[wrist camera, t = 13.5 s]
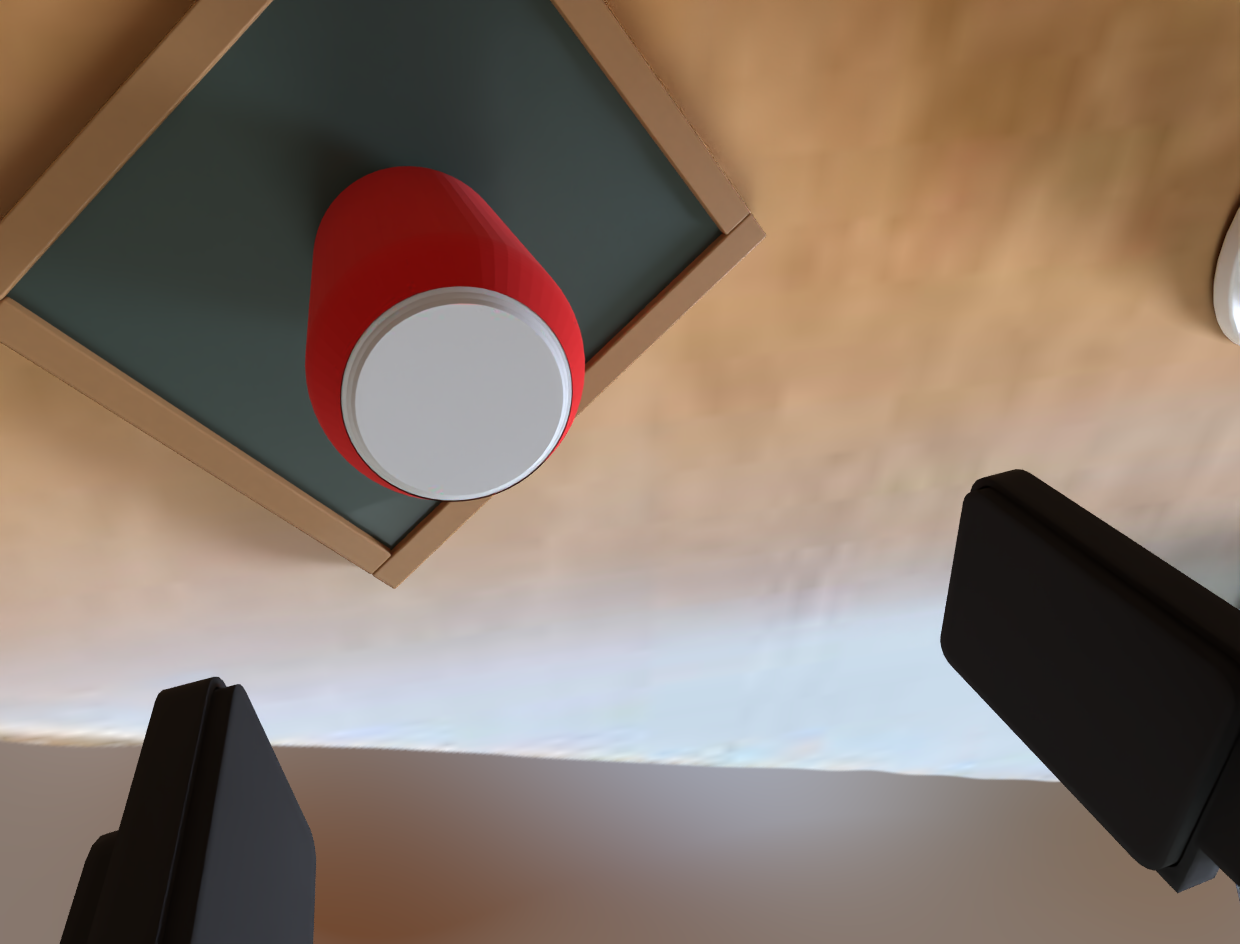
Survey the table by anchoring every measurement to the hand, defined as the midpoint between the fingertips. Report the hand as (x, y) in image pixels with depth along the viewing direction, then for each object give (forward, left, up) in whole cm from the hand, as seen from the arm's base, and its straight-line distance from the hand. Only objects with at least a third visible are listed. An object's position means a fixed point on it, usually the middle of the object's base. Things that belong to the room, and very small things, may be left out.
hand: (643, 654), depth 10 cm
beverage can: (+1, -1, -20) cm, 20 cm away
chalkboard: (+1, -1, -21) cm, 21 cm away
